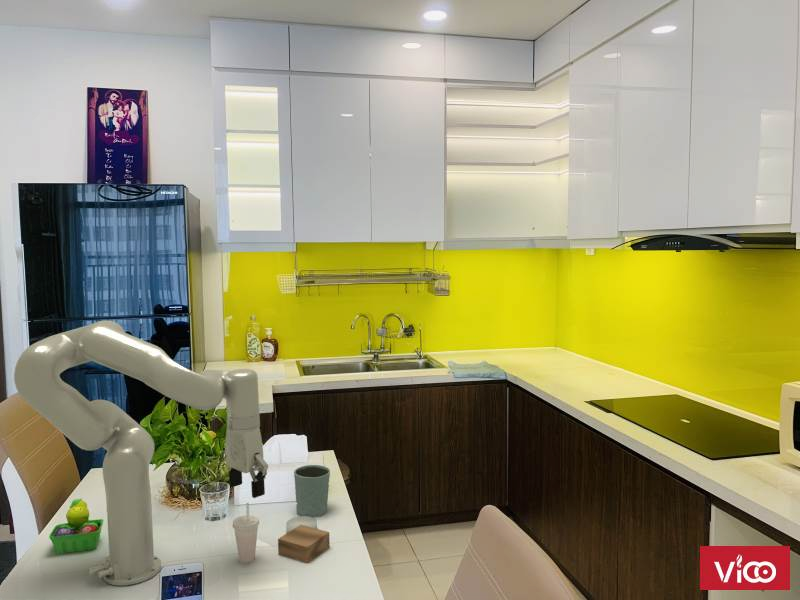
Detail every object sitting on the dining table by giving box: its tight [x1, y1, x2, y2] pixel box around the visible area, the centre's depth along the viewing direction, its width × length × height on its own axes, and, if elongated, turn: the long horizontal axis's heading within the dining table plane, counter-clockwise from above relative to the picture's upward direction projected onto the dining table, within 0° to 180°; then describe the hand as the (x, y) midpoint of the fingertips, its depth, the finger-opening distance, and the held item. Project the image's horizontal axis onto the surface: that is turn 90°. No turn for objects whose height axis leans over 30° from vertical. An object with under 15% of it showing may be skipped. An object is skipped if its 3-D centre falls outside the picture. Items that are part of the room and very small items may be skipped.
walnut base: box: [277, 525, 331, 564], centre depth 158 cm, size 9×9×4 cm
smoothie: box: [232, 502, 260, 564], centre depth 154 cm, size 6×6×14 cm
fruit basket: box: [48, 498, 104, 555], centre depth 162 cm, size 11×9×11 cm
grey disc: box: [285, 515, 318, 534], centre depth 169 cm, size 8×8×2 cm
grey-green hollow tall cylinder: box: [293, 464, 331, 518], centre depth 181 cm, size 10×10×12 cm
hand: (247, 490), depth 153 cm, fingers open, 9 cm apart
